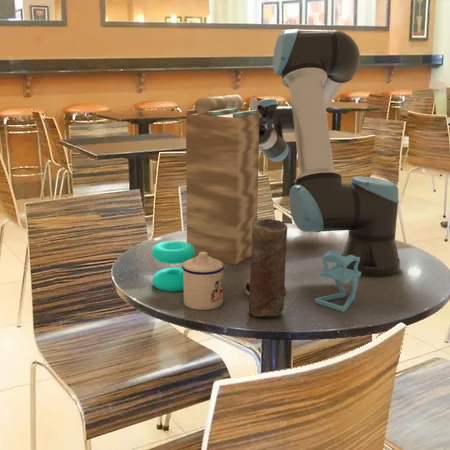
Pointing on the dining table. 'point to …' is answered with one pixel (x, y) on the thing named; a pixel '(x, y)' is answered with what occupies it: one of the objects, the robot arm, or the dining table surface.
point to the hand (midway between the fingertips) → (229, 100)
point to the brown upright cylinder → (267, 268)
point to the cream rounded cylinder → (217, 103)
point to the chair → (340, 278)
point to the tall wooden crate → (222, 182)
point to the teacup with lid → (203, 282)
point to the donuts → (172, 255)
